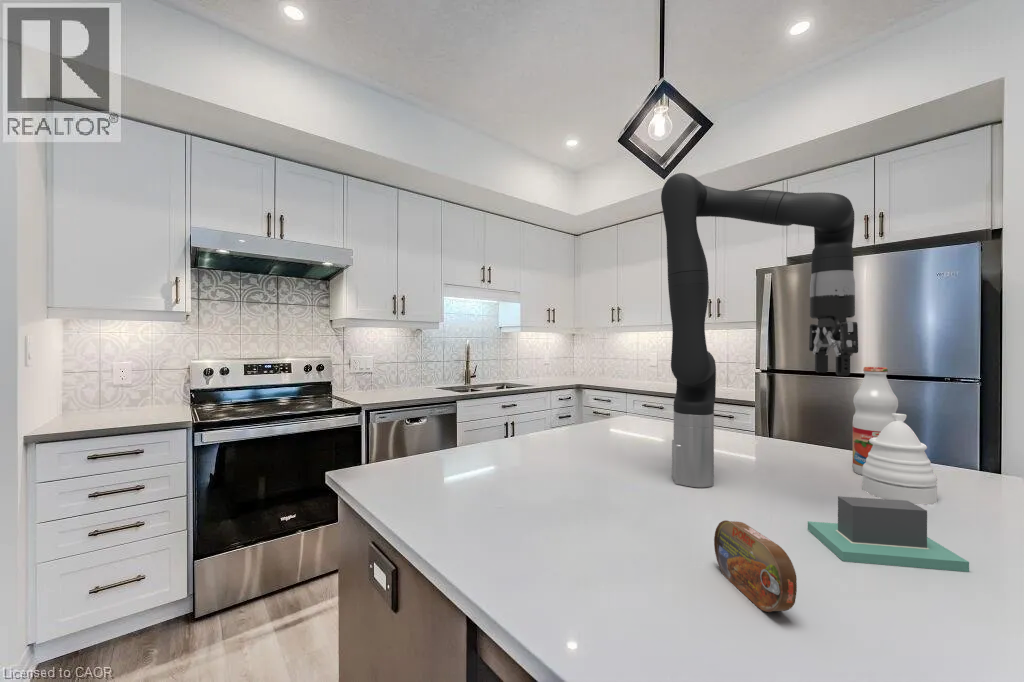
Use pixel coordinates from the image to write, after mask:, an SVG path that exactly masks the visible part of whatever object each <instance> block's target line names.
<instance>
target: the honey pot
mask: <svg viewBox="0 0 1024 682" xmlns="http://www.w3.org/2000/svg"><path fill="white" fill-rule="evenodd" d="M892 417H893V419H894V420H895V421H893V422H891V423H889V424H888V425H887V426H886V427H884V429H883V430H882V431H881V432H880V434H879V435H878V437H875V438H871V439H869V442H870V443H871V444H873V446H872V448H871V451H870V452H868V457H867V458H866V463H865V464H864V465H863V467H862V468H863V471H862V473H863V474H862V475H861V476H862V477H861V478H862V479H861V480H862V483H861V484H862V488H861V489H862V490H863V492H865V491H866V492H865V493H867V492H868V493H869V495H870V496H873V495H874V497H876V496H877V497H876V498H879V497H880V498H879V499H889V500H906V501H909V502H911V503H913V504H915V505H919V504H921V505H923V506H924V505H925V504H926V506H927V505H928V504H929V505H934V503H935V504H937V502H938V486H937V484H938V482H937V481H938V477H937V475H936V474H935V472H934V468H933V466H932V465H931V464H932V462H931V460H930V459H929V457H928V455H927V453H926V452H925V451H926V450H927V449H928V446H927V445H926V444H925V443H923V442H921V441H920V439H919V438H918V436H917V435H916V433H915V432H914V430H913V429H912V428H911V427H910V426H909V425H908V424H907V423H906V422H905V420H906V419H907V417H908V416H907V414H905V413H897V412H896V413H893V414H892ZM868 493H867V494H868ZM921 505H920V506H921Z"/></svg>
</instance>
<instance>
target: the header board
mask: <svg viewBox="0 0 1024 682" xmlns="http://www.w3.org/2000/svg"><path fill="white" fill-rule="evenodd" d="M807 530H808V532H810V533H811V534H812V535H813V536H814V537H816V539H817V540H818V541H820V543H822V545H824V546H825V547H826V548H828V550H830V551H831V552H832V553H833V554H834V555H836V557H837V558H839V559H840V561H842V562H847V563H848V562H850V563H859V564H860V563H861V564H873V565H882V566H883V565H885V566H894V567H895V566H899V567H905V568H906V567H907V568H919V569H932V570H943V571H955V572H966V573H970V561H968V560H967V559H965V558H963V557H961V556H960V555H958V554H957V553H955V552H954V551H952V550H950V549H949V548H946V547H945V546H944V545H941V544H940V543H938V542H936V541H934V539H931V538H930V537H929V536H927V548H920V547H907V546H894V545H881V544H868V543H855V542H852V541H850V540H849V539H848V538H847V537H845V536H844V535H843V534H842V533H840V532H839V531H838V522H835V523H834V522H823V521H822V522H820V521H807Z"/></svg>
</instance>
